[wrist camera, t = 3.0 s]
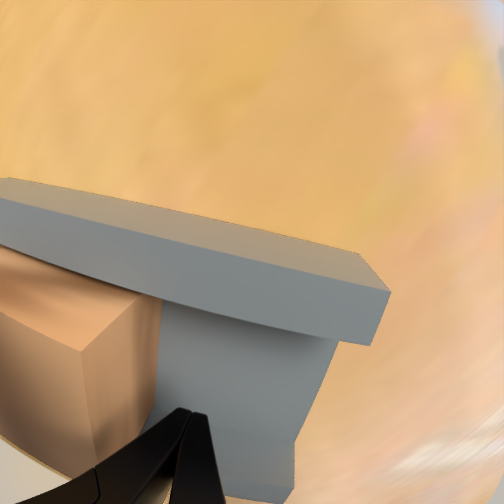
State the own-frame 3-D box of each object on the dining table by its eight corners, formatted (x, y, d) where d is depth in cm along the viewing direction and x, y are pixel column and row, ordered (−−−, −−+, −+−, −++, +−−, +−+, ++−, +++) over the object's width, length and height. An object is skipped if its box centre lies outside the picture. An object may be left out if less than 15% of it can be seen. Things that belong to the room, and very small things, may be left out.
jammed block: (166, 272, 10) (81, 351, 5) (154, 405, 11) (106, 495, 7) (33, 233, 10) (-65, 269, 5) (41, 356, 12) (-23, 415, 7)
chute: (358, 253, 10) (391, 291, 7) (285, 446, 13) (282, 504, 9) (9, 177, 11) (-48, 185, 7) (19, 353, 13) (-19, 383, 10)
